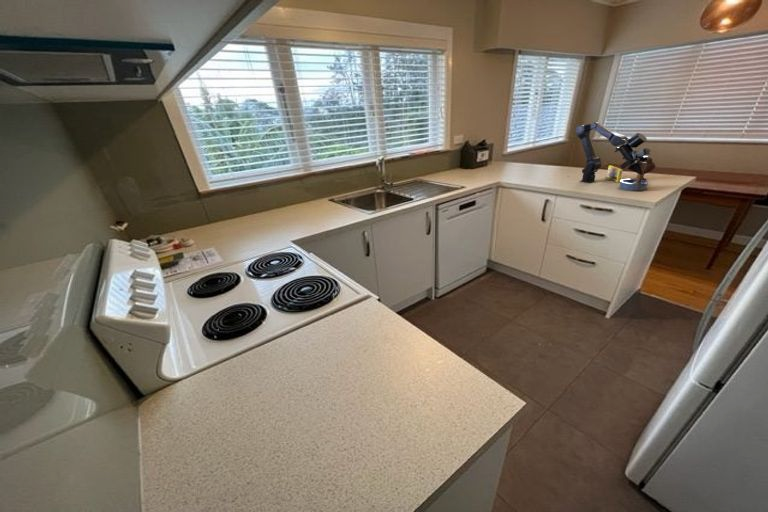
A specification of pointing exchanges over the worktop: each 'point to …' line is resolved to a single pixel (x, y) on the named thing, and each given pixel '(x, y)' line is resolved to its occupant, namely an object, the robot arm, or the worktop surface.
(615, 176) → the candy box
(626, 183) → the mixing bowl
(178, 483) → the worktop surface
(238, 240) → the worktop surface
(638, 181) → the stirring stick
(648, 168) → the brown tree model
